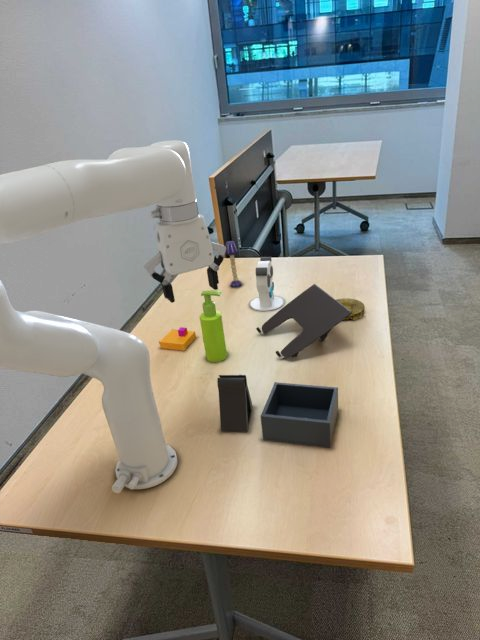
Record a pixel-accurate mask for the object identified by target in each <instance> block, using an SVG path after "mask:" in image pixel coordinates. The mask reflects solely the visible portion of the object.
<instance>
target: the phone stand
mask: <svg viewBox="0 0 480 640" xmlns="http://www.w3.org/2000/svg"><path fill="white" fill-rule="evenodd" d="M247 378H248V377H247V375H246V374H218V377H217V381H216V385H217V388H218V390H217V391H218V402H219V403H218V404H219V405H218V406H219V420H220V421H219V422H220V423H219V424H220V432H228V433H229V432H234V433H241V432H242V433H248V432H249V427H250V422H251V418H252V413H253V408H254V405H253V402H252V397H251V394H250V389H249V386H248V379H247Z"/></svg>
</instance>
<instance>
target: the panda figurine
mask: <svg viewBox="0 0 480 640" xmlns="http://www.w3.org/2000/svg"><path fill="white" fill-rule="evenodd" d="M273 277H274V267H273V265H272V256H260V260H259V261H258V262H257V264H256V267H255V285H256V290H257V292H258V297H255V298H254V299H252V300H251V301H250V304H249V306H250V308H251V309H252V310H255V311H260V312H270V311H274V310H277V309H279V308H282V306H283V305H284V299H283V298H282V297H280V296H276V295H274V289H275V283H274V281H273Z"/></svg>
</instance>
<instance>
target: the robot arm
mask: <svg viewBox="0 0 480 640" xmlns="http://www.w3.org/2000/svg"><path fill="white" fill-rule="evenodd" d="M189 149H190V148H189V147H188V145H187V143H186V142H185V141H183V140H178V139H177V140H176V139H175V140H173V139H172V140H163V141H157V142H153V143H152V144H149V145H147V146H139V147H138V146H137V147H123V148H119V149H116V150H115V151H113V152H112V153H111V154H110V155H109V156H108V158H106V159H68V160H67V159H66V160H59V161H55V162H51V163H46V164H42V165H38V166H34V167H29V168H25V169H21V170H15V171H11V172H6V173H2V174H0V245H6V244H7V245H8V244H13V243H17V242H20V241H23V240H26V239H29V238H33V237H35V236H38V235H41V234H44V233H47V232H50V231H52V230H56V229H58V228H61V227H64V226H67V225H71V224H73V223H76V222H79V221H82V220H86V219H93V218H101V217H105V216H109V215H112V214H117V213H122V212H126V211H127V212H128V211H133V210H137V209H142V208H145V207H150V206H152V205H155V209H153V210H150V216H151V218H152V219H158V220H157V221H156V238H157V239H156V241H157V250H158V253H157V254H156V255H154V256H153V257H152V258H151V259H149V260H148V261H147V262H146V263H145V264H144V265H143V268H144V271H146V272H147V273H148V274H149V275H150V277H151V278H153V280H155V281H157V282H159V283H160V285H161V288H162V289H161V290H162V293H163V297H164V299H166V300H168V301H169V302H170V303H172V304H173V303H175V302H176V299H175V293H174V289H173V285H172V283H171V282H170V281H171V279H172V277H173V276H177V275H182V274H185V273H186V274H187V273H189V272H194V271H197V270H200V269H201V270H202V269H204V268H206V274H207V280H208V286H209V287H210V288H212V290H214V291H218V290H219V286H218V285H219V284H220V281H219V274H218V271H219V270H220V266H221V264H222V263H223V261H224V260H225V259H224V256H225V255H226V254H225V251H226V245H223V244H221V243H217V242H214V241H212V239H211V236H210V232H209V229H208V225H207V222H206V219H205V217H204V214H200V213H199V208H198V207H199V206H198V201H197V194H196V187H195V182H194V181H195V180H194V175H193V169H192V161H191V155H190V150H189ZM214 250H215V251H217V252H216V254H215V255H214ZM159 264H160V265H161V268H162V270H161V271H160V273H158V272H157V271H156V270H155V268H156V267H157V266H158V265H159ZM0 369H2V370H11V371H17V372H25V373H31V374H39V375H48V376H53V377H59V378H60V377H61V378H62V377H63V378H68V377H69V378H70V377H75V376H78V375H81V374H82V375H85V376H88V377H90V378H93V379H95V380H98V381H100V383H101V384H102V385H103V392H102V395H101V405H102V410H103V413H104V416H105V418H106V421H107V426H108V428H109V431H110V434H111V438H112V441H113V443H114V447H115V450H116V453H117V457H118V459H119V460H117V463H116V465H115V469H114V470H115V477H116V480H115V482H114V483H113V484H112V486H111V491H112V492H113V493H115V494H121V492H122V491H123V489H124V488H127V489H129V490H146V489H150V488H153V487H156V486H158V485H160V484H162V483H163V482H165V481H167V480H168V479H169V478H170V477H171V476H172V475H173V474H174V472H175V470H176V468H177V466H178V455H177V453H176V451H175V450H174V448H173V447H171V446H170V445H168V444H167V443H166V439H165V433H164V431H163V427H162V422H161V419H160V414H159V410H158V407H157V403H156V399H155V395H154V391H153V386H152V385H153V384H152V381H151V380H152V379H151V355H150V351H149V347H148V346H147V345H146V344H145V342H144V341H143V340H142V339H140V338H139V337H138V336H136V335H134V334H132V333H130V332H126V331H124V330H119V329H116V328H114V327H113V328H112V327H108V326H104V325H101V324H98V323H97V324H96V323H93V322H89V321H85V320H80V319H75V318H72V317H67V316H62V315H60V314H54V313H50V312H46V311H41V310H27V311H20V310H16V309H14V307H13V306H12V304H11V302H10V298H9V296H8V292H7V290H6V288H5V285H4V283H3V281H2V280H1V279H0Z"/></svg>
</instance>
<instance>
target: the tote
mask: <svg viewBox="0 0 480 640" xmlns="http://www.w3.org/2000/svg"><path fill="white" fill-rule="evenodd" d="M338 413H339V387H336V386H325V385H312V384H302V383H288V382H280V381H279V382H277V381H274V383H273V385H272V388H271V390H270V392H269V394H268V397H267V399H266V402H265V405H264V406H263V409H262V412H261V414H260V423H261V424H260V425H261V434H262V441H270V442H277V443H287V444H294V445H302V446H303V445H304V446H312V447H319V448H320V447H321V448H329V449H330V448H331V446H332V441H333V437H334V432H335V429H336V423H337V419H338V418H337V417H338Z"/></svg>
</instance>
